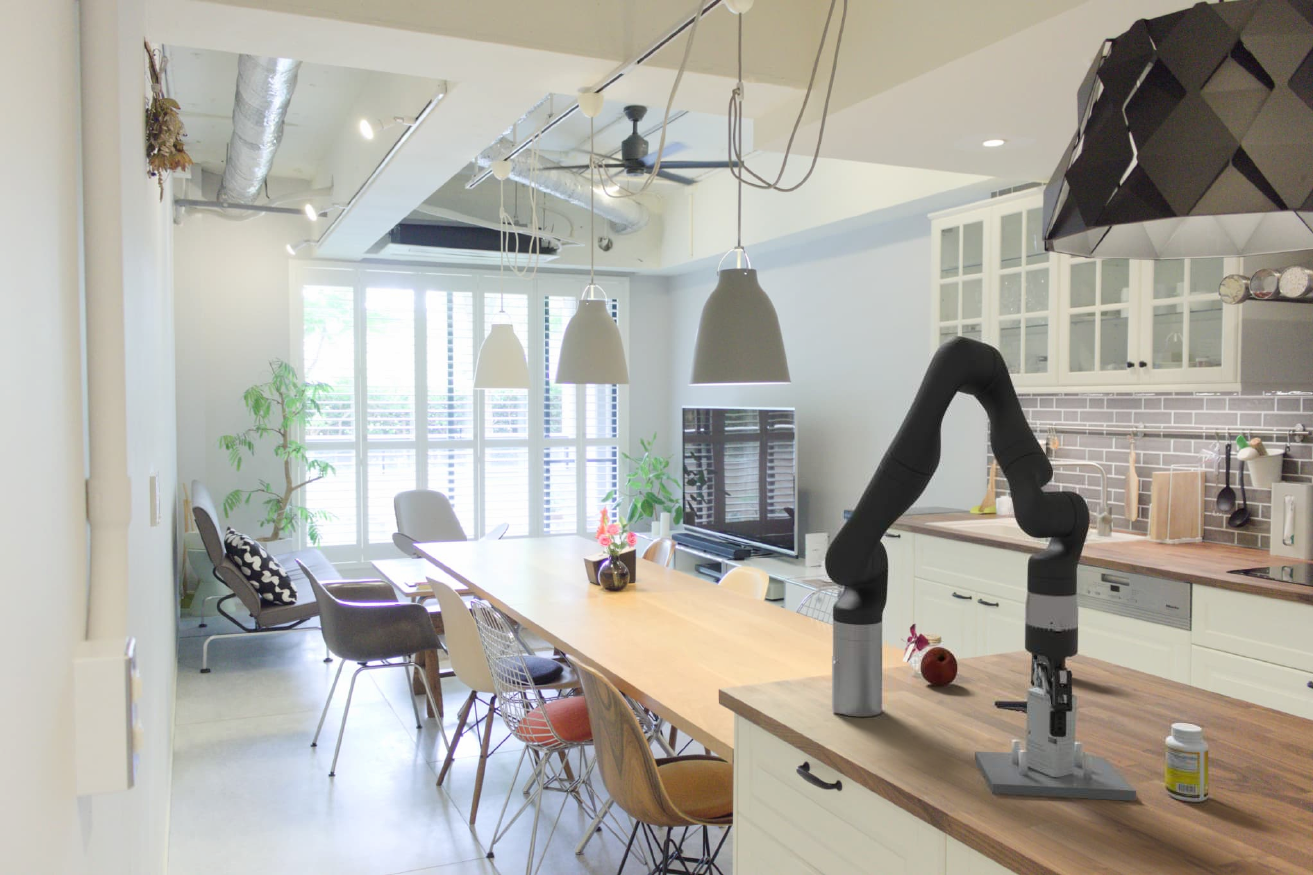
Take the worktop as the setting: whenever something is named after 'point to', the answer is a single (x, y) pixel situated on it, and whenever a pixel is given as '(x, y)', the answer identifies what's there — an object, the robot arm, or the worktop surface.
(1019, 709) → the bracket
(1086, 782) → the pin tray
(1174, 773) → the supplement bottle
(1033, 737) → the skincare box
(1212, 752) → the worktop surface
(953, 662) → the apple
